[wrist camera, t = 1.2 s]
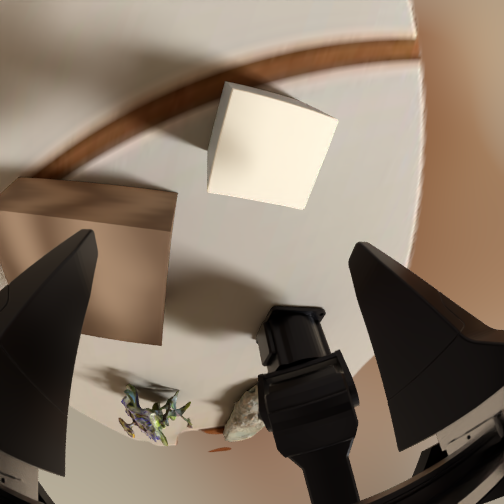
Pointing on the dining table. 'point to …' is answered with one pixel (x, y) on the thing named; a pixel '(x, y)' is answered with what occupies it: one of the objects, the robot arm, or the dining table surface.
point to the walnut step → (108, 243)
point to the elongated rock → (244, 418)
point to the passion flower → (150, 415)
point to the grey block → (266, 146)
